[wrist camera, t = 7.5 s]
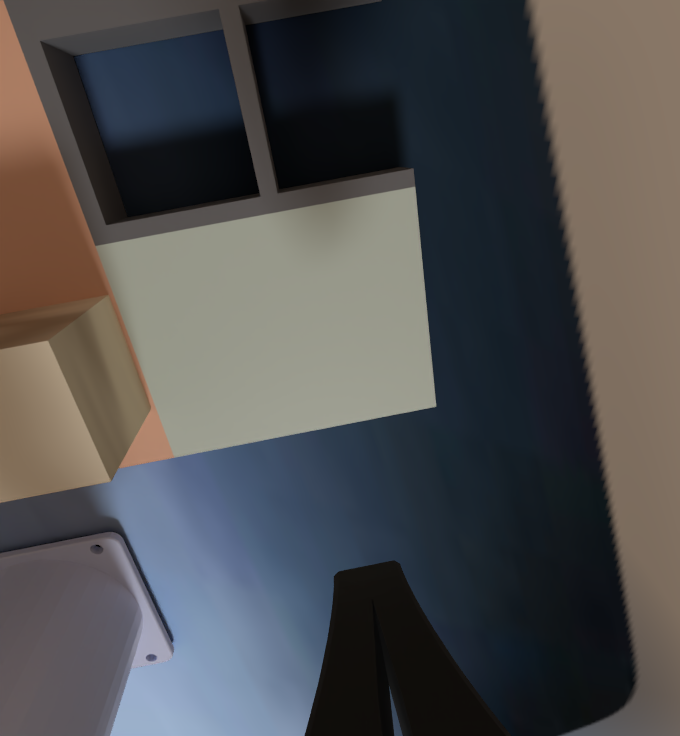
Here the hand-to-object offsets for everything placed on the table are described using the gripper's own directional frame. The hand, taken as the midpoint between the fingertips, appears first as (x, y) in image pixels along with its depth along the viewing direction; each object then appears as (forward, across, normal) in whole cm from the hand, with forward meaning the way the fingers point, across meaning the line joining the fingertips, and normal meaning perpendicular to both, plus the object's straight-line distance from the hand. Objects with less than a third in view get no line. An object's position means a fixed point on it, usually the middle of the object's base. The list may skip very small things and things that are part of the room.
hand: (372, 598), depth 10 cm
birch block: (+7, +8, -4) cm, 12 cm away
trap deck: (+9, +4, -7) cm, 12 cm away
